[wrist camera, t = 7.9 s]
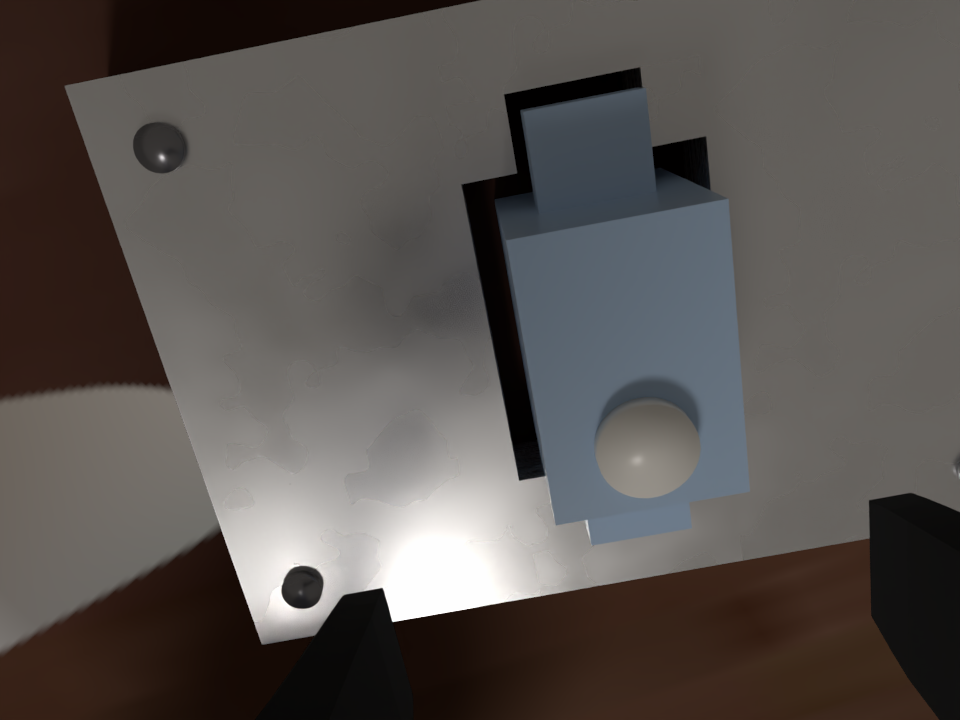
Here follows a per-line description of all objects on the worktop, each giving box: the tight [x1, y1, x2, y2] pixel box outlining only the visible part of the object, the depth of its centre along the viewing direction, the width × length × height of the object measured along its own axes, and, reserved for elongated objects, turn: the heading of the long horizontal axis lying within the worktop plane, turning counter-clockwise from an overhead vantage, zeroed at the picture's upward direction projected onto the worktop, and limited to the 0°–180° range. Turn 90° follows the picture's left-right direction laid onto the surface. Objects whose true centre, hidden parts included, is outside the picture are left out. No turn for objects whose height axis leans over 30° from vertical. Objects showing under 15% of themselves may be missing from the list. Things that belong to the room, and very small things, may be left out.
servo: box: [494, 87, 750, 545], centre depth 17 cm, size 4×10×5 cm, turn 10°
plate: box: [65, 0, 960, 645], centre depth 18 cm, size 20×14×2 cm
